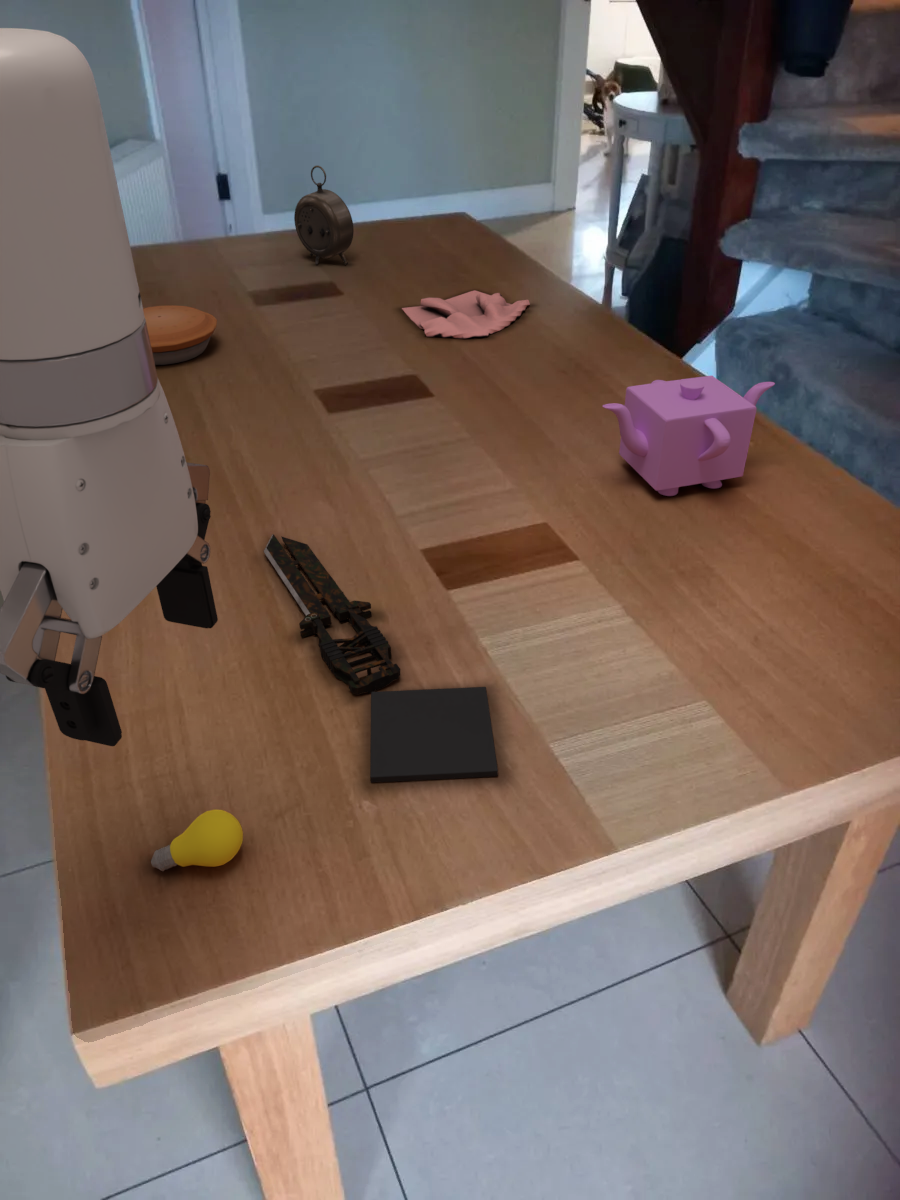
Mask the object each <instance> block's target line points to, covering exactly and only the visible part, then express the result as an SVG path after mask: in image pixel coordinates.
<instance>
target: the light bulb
mask: <svg viewBox="0 0 900 1200" xmlns="http://www.w3.org/2000/svg"><path fill="white" fill-rule="evenodd" d="M243 839H244V831H243V828H242V824H241V822H240V821H239V820H238V819H237V818H236V817H235V816H234V815H233V814H232V813H230V812H228V811H226V810H224V809H210V810H206V811H204V812H202V813H201V814H199V815H198V816H197V817H196V818H195V819H194V820H193V821H192V822H191V823H190V824H189V825H188V826H187V828H186V829H185V830H184V831H183V833H181V834H178V836H176V837H174V838H173V839H172V841H171V843H170V844H168V845H166V846H163V847H160V848H159V849H156V850H155V851H154V852H153V855H152V858H151V859H150V863H151V866H152V867H153V868H156V869H158V870H159V871H162V872H164V871H165V870H166V871H167V870H169V869H172V868H173V867H176V866H180V867H183V868H185V867H189V866H199V867H210V868H211V867H212V868H213V867H214V868H215V867H219V866H224V865H225V864H227V863H228V862H230V861H232V859H233V858H234V857H235V856H236V855H237V854H238V852H239V851H240V850H241V847H242V844H243V841H244V840H243Z"/></svg>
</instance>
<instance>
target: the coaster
mask: <svg viewBox="0 0 900 1200" xmlns="http://www.w3.org/2000/svg"><path fill="white" fill-rule="evenodd" d="M487 691H488V689H487V687H486V686H473V687H472V686H471V687H470V686H469V687H450V688H427V689H406V690H404V689H403V690H385V691H382V690H381V691H380V690H379V691H374V692H371V693H370V755H369V756H370V759H369V760H370V763H369V764H370V767H369V771H370V772H369V777H370V778H369V779H370V783H390V782H412V781H413V782H414V781H430V780H433V781H434V780H450V779H454V780H455V779H471V778H472V779H473V778H490V777H494V778H495V777H498V775H499V769H498V762H497V754H496V748H495V740H494V734H493V733H494V732H493V725H492V720H491V711H490V706H489V699H488V692H487Z"/></svg>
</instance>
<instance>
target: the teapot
mask: <svg viewBox="0 0 900 1200" xmlns="http://www.w3.org/2000/svg"><path fill="white" fill-rule="evenodd" d="M775 385H776V382H774V381H762V382H758V383H756V384H754V385H753V386H752V387H750V388H749V389H748V390H747V392H746V393H745V394H744V396H742V395H740V394H739V393H737V392H736V391H735V390H733V389H732V388H730V387H729V386H727V385H726V384H725V383H724V382H722V381H720V380H719V379H718V378H716V377H714V375H705V376H696V377H690V378H682V379H674V380H667V381H666V380H664V379H655V380H653V381H651V383H644V384H637V385H630V386H627V387H626V389H625V397H624V404H623V403H622V404H621V403H616V402H615V403H612V402H611V403H605V404H602V406H601V407H602V408H604V409H606V410H608V411H611V412H612V413H613V414H614V415H615V416H616V418H617V422H618V428H619V434H620V440H619V441H620V442H619V449H618V450H619V451H618V455H619V456H620V457H621V458H622V459H623V460H624V461H625V462H626V463H627V464H628V465H630V467H631V468H632V469H633V470H634V471H635V472H636V473H637V474H638V475H639V476H640V477H642V479H643V480H644V481H645V482H646V483H647V484H648V485H649V486H651V488H652V489H654V491H656V492H657V493H658V494H660V495H663V496H665V497H666V496H667V497H673V496H677V494H679V489H680V488H681V487H687V486H688V487H689V486H694V485H699V484H701V485H702V486H703V487H705V488H708V489H719V488H721V487H722V486H723V483H722V481H723V480H724V481H725V480H729V479H730V480H731V479H733V478H735V479H736V478H741V477H744V474H745V473H744V472H745V468H746V463H747V457H748V453H749V448H750V443H751V438H752V434H753V429H754V423H755V418H756V414H757V409H758V408H757V406H756V405H757V404H758V401H759V400H760V398H761V397H762V395H764V393H765V392H767V391H768V390H769V389H770V388H772V387H774V386H775Z"/></svg>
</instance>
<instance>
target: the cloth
mask: <svg viewBox="0 0 900 1200" xmlns="http://www.w3.org/2000/svg"><path fill="white" fill-rule="evenodd" d="M530 305H531V303H530V300H529V299H523V300H520V299H519V300H516V301H515V302H514V303H509V302H507V301H506V299H505V298H504V297H503V295H502V293H500V292H494V293H493V294H488V293H485V292H481V291H478V290H471V291H468V292H465V293H462V294H459V295H456V296H452V297H449V298H447V299H443V298H440V297H425V298H424V297H423V298H421V299H420V305H419V306H409V307H408V306H407V307H401V310H402V312H404V314H405V315H406V316H407V317H408V318H409V320H411V322H413V323H414V324H415V326H417V327H418V328H419V329H421V330H424V334H425V336H426V337H428V338H437V337H439V338H453V339H461V340H464V339H470V338H484V337H489V335H492V334H495V333H497V332H500V331H502V330H503V329H504V330H505V328H506V327H509V326H510V325H511V323H512V322H515V321H516V320H517V318H519V317H521V315H522V313H523V312H524V311H526V308H527V307H528V306H530Z"/></svg>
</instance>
